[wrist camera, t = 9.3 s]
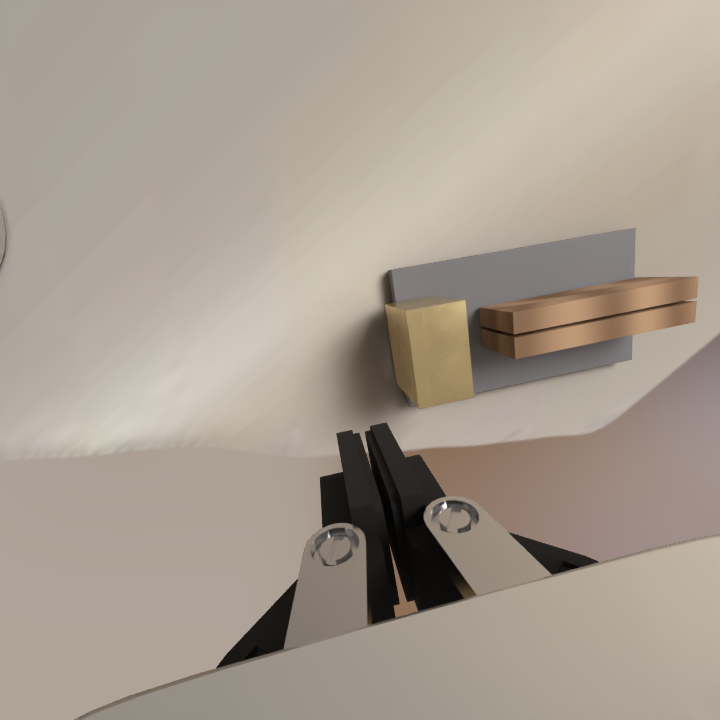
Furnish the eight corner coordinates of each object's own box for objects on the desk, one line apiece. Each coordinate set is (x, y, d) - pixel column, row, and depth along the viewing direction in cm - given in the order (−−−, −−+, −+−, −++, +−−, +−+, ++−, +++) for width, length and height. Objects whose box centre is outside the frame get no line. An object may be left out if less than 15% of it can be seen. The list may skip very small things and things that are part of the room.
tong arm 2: (482, 346, 30) (515, 359, 25) (480, 328, 30) (514, 338, 25) (636, 315, 32) (695, 322, 27) (636, 298, 31) (696, 301, 26)
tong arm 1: (480, 325, 30) (513, 334, 25) (479, 307, 29) (512, 312, 24) (636, 295, 31) (696, 297, 26) (637, 277, 31) (698, 276, 26)
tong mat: (406, 402, 32) (410, 407, 31) (388, 270, 29) (391, 270, 28) (620, 356, 34) (631, 359, 33) (623, 229, 31) (635, 227, 30)
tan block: (396, 382, 30) (419, 409, 24) (384, 304, 28) (406, 311, 22) (440, 373, 30) (474, 397, 24) (431, 295, 28) (465, 299, 22)
